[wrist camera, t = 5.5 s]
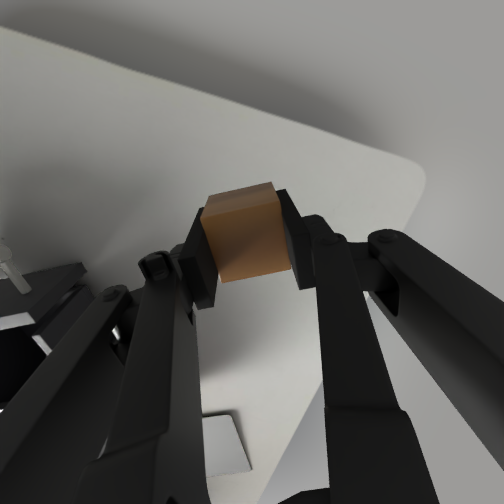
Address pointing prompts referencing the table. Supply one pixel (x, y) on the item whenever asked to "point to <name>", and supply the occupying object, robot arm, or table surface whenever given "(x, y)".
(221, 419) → the gray flat rectangular board
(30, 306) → the open drawer cabinet
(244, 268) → the block
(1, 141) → the table surface
